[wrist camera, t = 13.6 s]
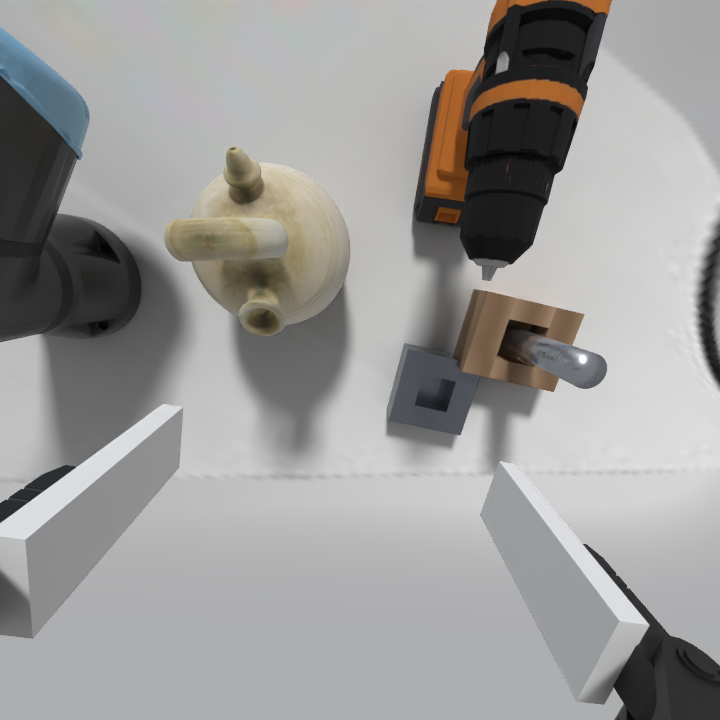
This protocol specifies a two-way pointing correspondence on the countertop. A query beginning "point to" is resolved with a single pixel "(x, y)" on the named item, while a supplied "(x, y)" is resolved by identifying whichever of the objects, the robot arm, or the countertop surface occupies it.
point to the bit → (556, 357)
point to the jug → (264, 243)
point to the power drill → (508, 126)
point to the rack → (488, 329)
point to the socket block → (431, 390)
